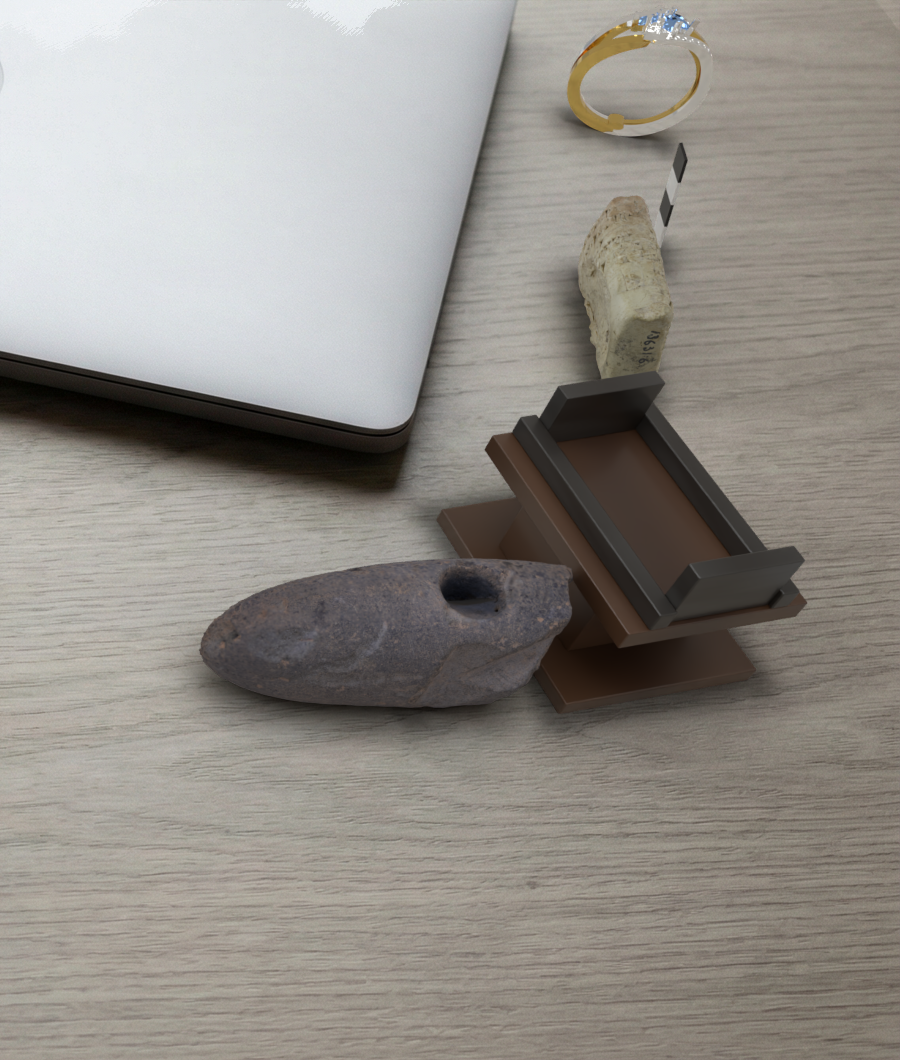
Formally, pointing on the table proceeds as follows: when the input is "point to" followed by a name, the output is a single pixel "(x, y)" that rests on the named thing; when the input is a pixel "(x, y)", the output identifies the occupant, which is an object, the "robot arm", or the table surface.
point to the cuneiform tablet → (629, 281)
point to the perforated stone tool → (395, 633)
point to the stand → (627, 547)
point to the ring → (657, 29)
